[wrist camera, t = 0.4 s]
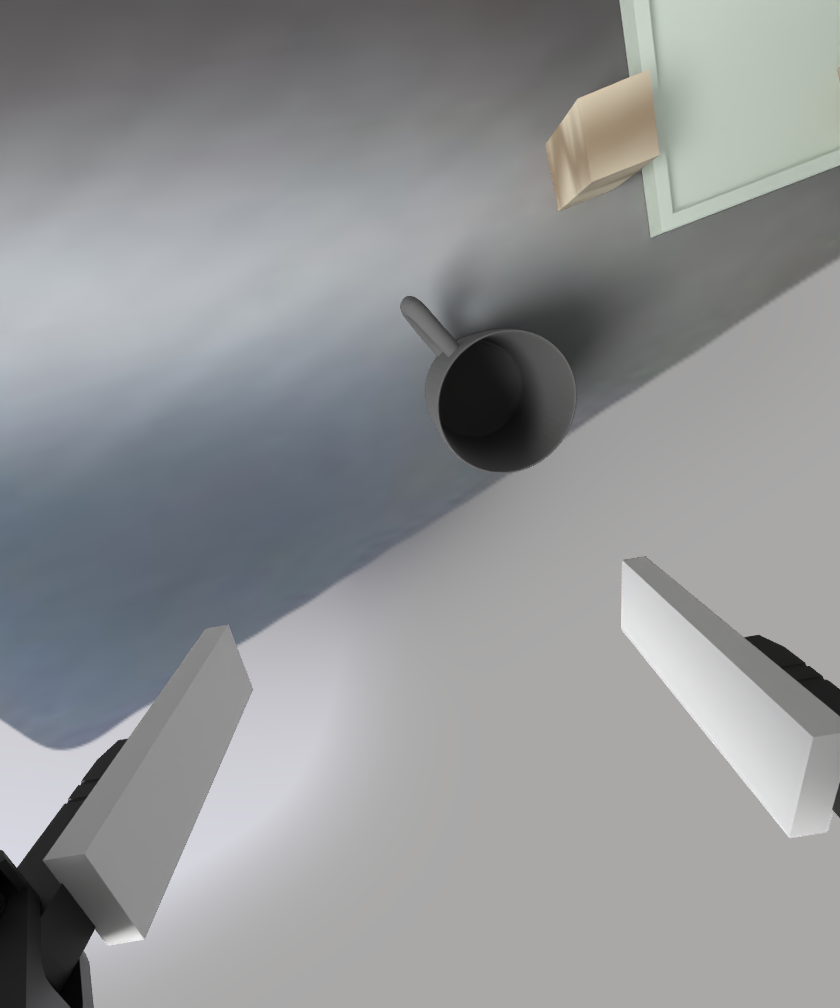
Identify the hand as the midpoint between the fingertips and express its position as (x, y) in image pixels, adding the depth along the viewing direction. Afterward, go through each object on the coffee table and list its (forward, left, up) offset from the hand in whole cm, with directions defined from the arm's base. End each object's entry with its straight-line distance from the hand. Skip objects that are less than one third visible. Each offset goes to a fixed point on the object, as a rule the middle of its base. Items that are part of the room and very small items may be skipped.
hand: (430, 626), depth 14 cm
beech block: (-16, +20, -26) cm, 37 cm away
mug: (-5, +6, -27) cm, 28 cm away
